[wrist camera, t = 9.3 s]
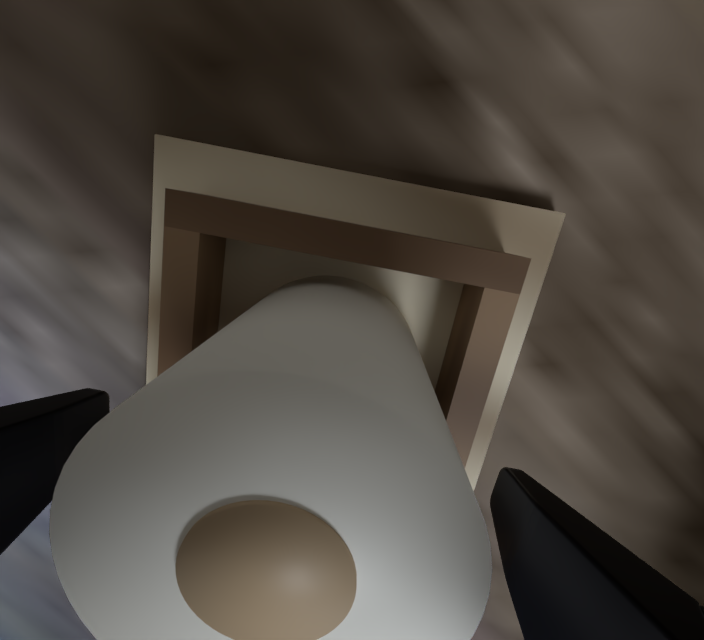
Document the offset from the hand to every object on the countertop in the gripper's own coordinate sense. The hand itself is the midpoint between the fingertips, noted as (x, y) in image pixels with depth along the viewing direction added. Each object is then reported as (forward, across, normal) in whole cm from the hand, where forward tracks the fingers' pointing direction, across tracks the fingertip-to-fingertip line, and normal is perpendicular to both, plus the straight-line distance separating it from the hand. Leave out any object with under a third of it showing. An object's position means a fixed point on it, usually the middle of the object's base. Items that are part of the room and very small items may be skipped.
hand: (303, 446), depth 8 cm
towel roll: (+5, 0, 0) cm, 5 cm away
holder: (+6, 0, 0) cm, 6 cm away
